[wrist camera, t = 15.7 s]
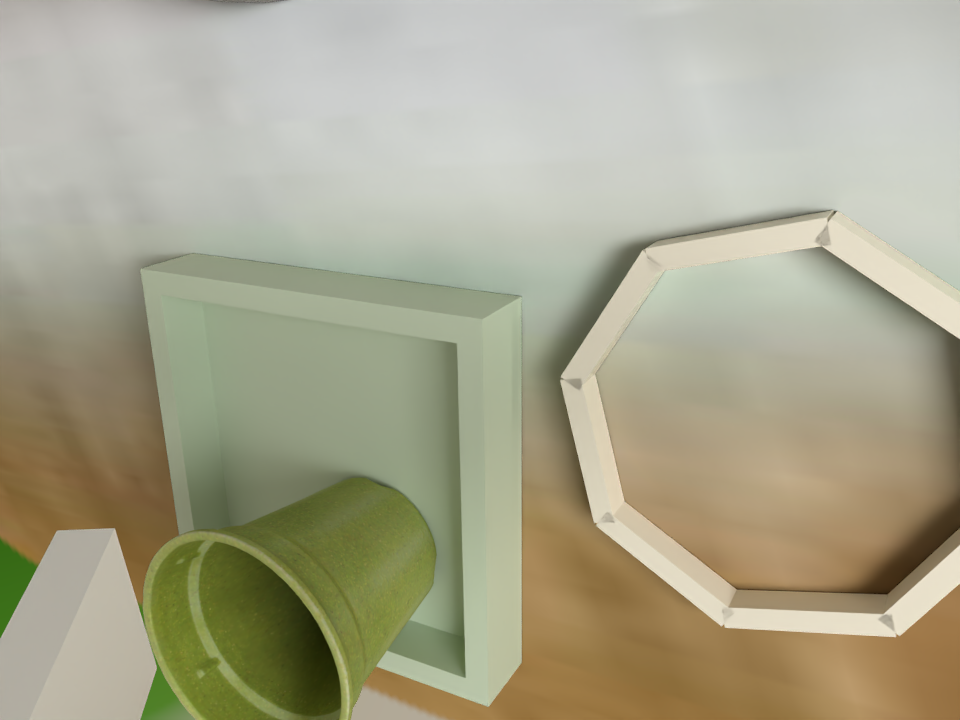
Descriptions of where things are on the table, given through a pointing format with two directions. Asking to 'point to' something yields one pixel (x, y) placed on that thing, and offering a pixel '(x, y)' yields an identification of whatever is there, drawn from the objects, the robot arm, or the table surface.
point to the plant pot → (288, 604)
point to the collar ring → (660, 552)
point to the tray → (356, 428)
